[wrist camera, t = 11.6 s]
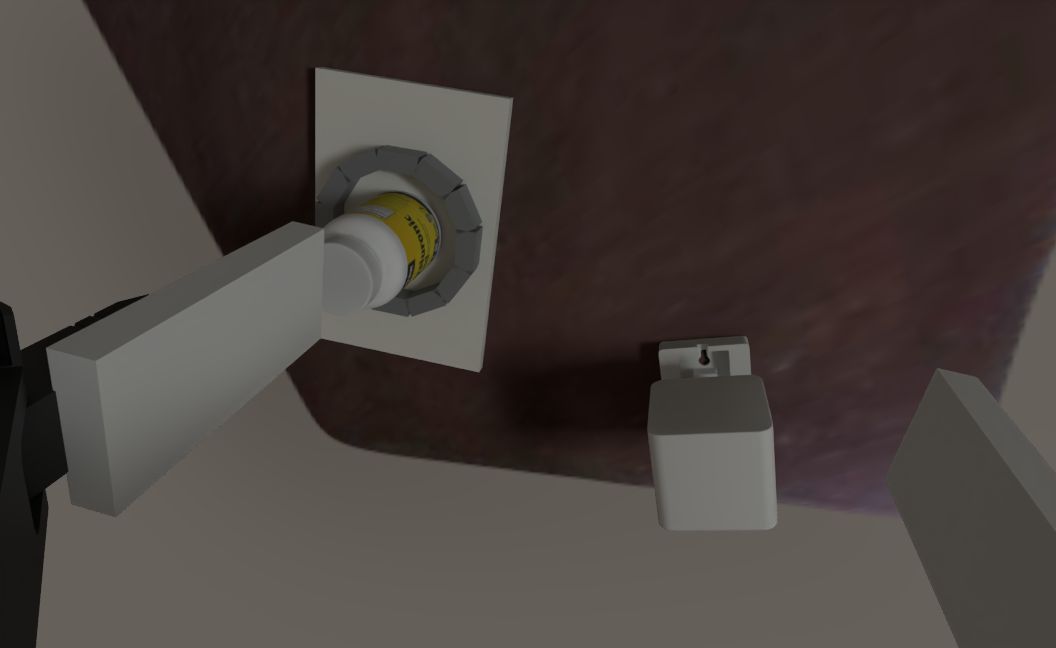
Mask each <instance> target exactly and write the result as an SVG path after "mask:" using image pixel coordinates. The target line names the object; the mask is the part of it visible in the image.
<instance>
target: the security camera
mask: <svg viewBox="0 0 1056 648" xmlns="http://www.w3.org/2000/svg"><path fill="white" fill-rule="evenodd" d="M704 349H706V353H707V357H708V358H709V359H710V361H709V363H708V364H705V365H703V364H701V363H699V361H698V360H699V358H700V357H701V352H700V351H701V350H704ZM659 362H660V371H661V380H659V381H656V382H654V383H653V384H652V385H651V390H650V402H649V414H648V426H647V431H648V439H649V447H650V456H651V464H652V472H653V480H654V488H655V496H656V504H657V512H658V520H659V524H660V526H661V527H663V528H664V529H667V530H767V529H771V528H773V527H774V526H776V524H777V501H776V480H775V459H774V438H773V422H772V418H771V414H770V410H769V405H768V401H767V397H766V392H765V388H764V384H763V380H762V378H760V377H758V376H756V375H751V367H750V350H749V344H748V339H747V337H745V336H733V337H719V338H705V339H692V340H678V341H664V342H661V343H660V344H659Z"/></svg>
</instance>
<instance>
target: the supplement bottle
mask: <svg viewBox="0 0 1056 648" xmlns="http://www.w3.org/2000/svg"><path fill="white" fill-rule="evenodd" d="M440 243H441V229H440V224H439V221H438V219H437V217H436V215H435V213H434V212H433V210H432V209H431V207H430V206H429V205H428V204H427V203H426V202H425V201H424V200H422V199H421V198H419V197H417V196H416V195H413V194H411V193H408V192H404V191H389V192H385V193H382V194H379V195H377V196H375V197H373V198H372V199H370V200H368V201H366V202H364V203H363V204H361V205H359V206H357V207H355V208H353V209H352V210H350V211H348V212H346V213H344V214H343V215H341V216H339V217H337V218H335V219H333V220H332V221H331V222H329V223H328V224H327V225H326V226H325V227H324V258H323V288H322V310H324V311H326V312H328V313H330V314H334V315H339V316H346V315H352V314H355V313H357V312H359V311H361V310H362V309H369V308H376V307H379V306H382V305H384V304H386V303H388V302H389V301H391V300H392V299H393V298H395V297H396V296H397V295H398V294H399V293H400V292H401V291H402V290H403V289H404V288H405V287H406V286H407V285H408V284H410V283H411V282H412V281H413V280H414V279H415V278H416V277H417V276H418V275H419V274H420V273H421V272H422V271H423V270H425V269H426V268H427V266H428V265H429V264H430V263H431V262H432V261H433V260H434V258H435V257H436V255H437V253H438V251H439V248H440Z"/></svg>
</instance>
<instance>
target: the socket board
mask: <svg viewBox="0 0 1056 648" xmlns="http://www.w3.org/2000/svg"><path fill="white" fill-rule="evenodd" d="M512 104H513V98H511V97H505V96H499V95H493V94H487V93H480V92H474V91H468V90H462V89H455V88H449V87H443V86H437V85H431V84H424V83H418V82H412V81H406V80H399V79H393V78H387V77H381V76H375V75H368V74H362V73H356V72H350V71H343V70H337V69H331V68H325V67H317V68H315V227H320V228H324V227H325V226H326V225H327V224H328V223H329V222H331V221H332V220H333V219H335V218H337V217H339V216H341V215H343V214H344V213H346V212H348V211H350V210H352V209H353V208H355V207H357V206H359V205H361V204H363V203H364V202H366V201H368V200H370V199H372V198H373V197H375V196H377V195H379V194H382V193H385V192H389V191H404V192H408V193H411V194H413V195H416V196H417V197H419V198H421V199H422V200H424V201H425V202H426V203H427V204H428V205H429V206H430V207H431V209H432V210H433V212H434V213H435V215H436V217H437V219H438V221H439V224H440V229H441V243H440V248H439V251H438V253H437V255H436V257H435V258H434V260H433V261H432V262H431V263H430V264H429V265H428V266H427V268H426V269H425V270H423V271H422V272H421V273H420V274H419V275H418V276H417V277H416V278H415V279H414V280H413V281H412V282H411V283H410V284H408V285H407V286H406V287H405V288H404V289H403V290H402V291H401V292H400V293H399V294H398V295H397V296H396V297H395V298H393V299H392V300H391V301H389V302H388V303H386V304H384V305H382V306H379V307H376V308H369V309H362V310H361V311H359V312H357V313H355V314H352V315H346V316H339V315H334V314H330V313H328V312H326V311H324V310H322V318H321V338H323V339H327V340H332V341H336V342H341V343H346V344H350V345H355V346H360V347H364V348H369V349H374V350H378V351H383V352H388V353H392V354H397V355H401V356H406V357H411V358H415V359H420V360H425V361H429V362H434V363H439V364H443V365H448V366H453V367H457V368H462V369H466V370H471V371H476V372H480V370H481V368H482V364H483V356H484V347H485V338H486V330H487V321H488V312H489V304H490V295H491V286H492V278H493V269H494V260H495V251H496V243H497V234H498V225H499V217H500V208H501V199H502V191H503V182H504V173H505V165H506V156H507V147H508V138H509V130H510V121H511V112H512Z"/></svg>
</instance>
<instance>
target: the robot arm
mask: <svg viewBox="0 0 1056 648" xmlns="http://www.w3.org/2000/svg"><path fill="white" fill-rule="evenodd" d="M323 258H324V228H320V227H315V226H311V225H307V224H302V223H298V222H293V221H292V222H290V223H288V224H286V225H284V226H282V227H281V228H279V229H277V230H275V231H273V232H271V233H269V234H267V235H265V236H263V237H261V238H259V239H257V240H255V241H253V242H251V243H249V244H247V245H245V246H244V247H242V248H240V249H238V250H236V251H234V252H232V253H230V254H228V255H226V256H224V257H222V258H220V259H218V260H217V261H214V262H212V263H210V264H209V265H207V266H205V267H203V268H201V269H199V270H197V271H195V272H193V273H191V274H189V275H188V276H185V277H183V278H181V279H179V280H177V281H175V282H173V283H171V284H169V285H168V286H166V287H164V288H162V289H160V290H158V291H156V292H154V293H152V294H150V295H149V294H147V295H143V296H139V297H135V298H131V299H128V300H124V301H120V302H117V303H115V304H113V305H111V306H109V307H107V308H105V309H103V310H101V311H99V312H97V313H95V314H94V316H93V317H92V316H89V317H87V318H85V319H83V320H80V321H79V322H76V323H75V326H68V327H66V328H65V329H62V330H60V331H58V332H56V333H55V334H52V335H50V336H48V337H46V338H44V339H42V340H40V341H38V342H36V343H34V344H32V345H30V346H28V347H26V348H24V349H22V350H20V346H19V341H18V335H17V330H16V324H15V319H14V314H13V311H12V308H11V307H10V306H8V305H6V304H4V303H2V302H0V648H36V639H37V628H38V616H39V606H40V594H41V584H42V572H43V561H44V551H45V540H46V528H47V518H48V501H47V496H46V491H45V489H46V488H47V487H48V486H50V485H51V484H52V483H54V482H55V481H56V480H58V479H59V478H61V477H62V476H63V475H65V474H67V480H68V487H69V493H70V499H71V504H72V505H76V506H79V507H82V508H86V509H89V510H93V511H96V512H100V513H103V514H107V515H110V516H113V517H117V516H118V515H119V514H120V513H121V512H122V511H123V510H125V509H126V508H127V507H128V506H129V505H130V504H131V503H133V502H134V501H135V500H136V499H137V498H138V497H139V496H141V495H142V494H143V493H144V492H145V491H146V490H147V489H148V488H150V487H151V486H152V485H153V484H154V483H156V482H157V481H158V480H159V479H160V478H161V477H162V476H163V475H165V474H166V473H167V472H168V471H169V470H170V469H172V468H173V467H174V466H175V465H176V464H177V463H178V462H180V461H181V460H182V459H183V458H184V457H185V456H186V455H188V454H189V453H190V452H191V451H192V450H193V449H194V448H196V447H197V446H198V445H199V444H200V443H201V442H202V441H204V440H205V439H206V438H207V437H208V436H209V435H210V434H211V433H213V432H214V431H215V430H216V429H217V428H218V427H220V426H221V425H222V424H223V423H224V422H225V421H226V420H228V419H229V418H230V417H231V416H232V415H233V414H234V413H236V412H237V411H238V410H239V409H240V408H241V407H242V406H244V405H245V404H246V403H247V402H248V401H249V400H250V399H252V398H253V397H254V396H255V395H256V394H257V393H258V392H260V391H261V390H262V389H263V388H264V387H265V386H266V385H268V384H269V383H270V382H271V381H272V380H273V379H274V378H276V377H277V376H278V375H279V374H280V373H281V372H282V371H284V370H285V369H286V368H287V367H288V366H289V365H290V364H292V363H293V362H294V361H295V360H296V359H297V358H298V357H300V356H301V355H302V354H303V353H304V352H305V351H306V350H308V349H309V348H310V347H311V346H312V345H313V344H314V343H316V342H317V341H318V340H319V339H320V338H321V318H322V288H323ZM885 480H886V482H887V485H888V487H889V489H890V492H891V494H892V496H893V498H894V501H895V503H896V505H897V508H898V510H899V512H900V514H901V517H902V519H903V521H904V523H905V526H906V528H907V530H908V532H909V535H910V537H911V539H912V542H913V544H914V546H915V549H916V551H917V553H918V556H919V558H920V560H921V562H922V565H923V567H924V569H925V571H926V574H927V576H928V578H929V581H930V583H931V585H932V587H933V590H934V592H935V594H936V596H937V599H938V601H939V603H940V606H941V608H942V610H943V613H944V615H945V617H946V620H947V622H948V624H949V626H950V629H951V631H952V633H953V635H954V638H955V639H956V642H957V644H958V647H959V648H1056V473H1055V472H1054V471H1053V469H1052V468H1051V467H1050V466H1049V465H1048V463H1047V462H1046V461H1045V460H1044V458H1043V457H1042V456H1041V455H1040V454H1039V452H1038V451H1037V450H1036V449H1035V447H1034V446H1033V445H1032V444H1031V443H1030V441H1029V440H1028V439H1027V438H1026V436H1025V435H1024V434H1023V433H1022V432H1021V430H1020V429H1019V428H1018V427H1017V425H1016V424H1015V423H1014V422H1013V421H1012V419H1011V418H1010V417H1009V416H1008V414H1007V413H1006V412H1005V411H1004V410H1003V408H1002V407H1001V406H1000V405H999V404H998V402H997V401H996V400H995V399H994V397H993V396H992V395H991V394H990V393H989V391H988V390H987V389H986V388H985V386H984V385H983V384H982V383H981V382H980V380H979V379H978V378H977V377H974V376H969V375H965V374H961V373H956V372H952V371H947V370H943V369H939V368H937V369H936V371H935V373H934V375H933V377H932V379H931V382H930V384H929V386H928V388H927V390H926V392H925V394H924V396H923V398H922V400H921V402H920V405H919V407H918V409H917V411H916V413H915V415H914V417H913V419H912V421H911V423H910V425H909V428H908V430H907V432H906V434H905V436H904V438H903V440H902V442H901V444H900V446H899V449H898V451H897V453H896V455H895V457H894V459H893V461H892V463H891V465H890V467H889V469H888V472H887V474H886V476H885Z"/></svg>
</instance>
